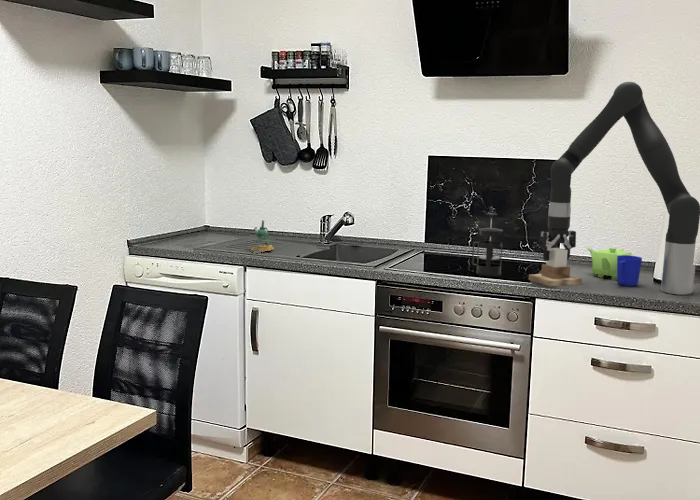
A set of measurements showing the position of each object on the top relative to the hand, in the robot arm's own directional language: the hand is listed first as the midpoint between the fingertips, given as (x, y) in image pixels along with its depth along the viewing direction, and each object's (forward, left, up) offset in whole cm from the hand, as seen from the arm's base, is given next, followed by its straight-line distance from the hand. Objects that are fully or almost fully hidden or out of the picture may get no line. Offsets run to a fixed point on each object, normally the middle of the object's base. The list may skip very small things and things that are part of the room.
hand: (556, 260), depth 249 cm
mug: (-21, +12, -8) cm, 26 cm away
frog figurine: (+83, -94, -8) cm, 126 cm away
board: (0, 0, -8) cm, 8 cm away
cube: (0, 0, -2) cm, 2 cm away
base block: (0, 0, -6) cm, 6 cm away
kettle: (-27, -2, -8) cm, 28 cm away
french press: (+15, -21, -8) cm, 27 cm away
